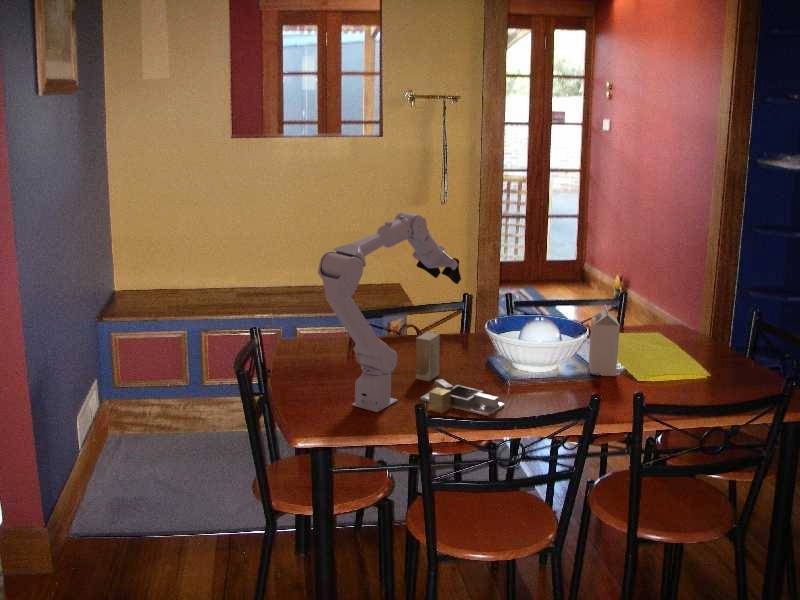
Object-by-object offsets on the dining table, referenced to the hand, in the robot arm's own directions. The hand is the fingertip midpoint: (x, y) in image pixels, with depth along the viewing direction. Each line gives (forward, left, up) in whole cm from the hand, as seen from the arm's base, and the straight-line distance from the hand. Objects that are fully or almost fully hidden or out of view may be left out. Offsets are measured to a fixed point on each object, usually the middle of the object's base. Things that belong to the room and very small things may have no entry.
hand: (448, 278), depth 255 cm
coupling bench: (-14, -14, -29) cm, 35 cm away
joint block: (-21, -11, -29) cm, 37 cm away
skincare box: (-3, +4, -29) cm, 29 cm away
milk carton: (+30, -34, -29) cm, 54 cm away
